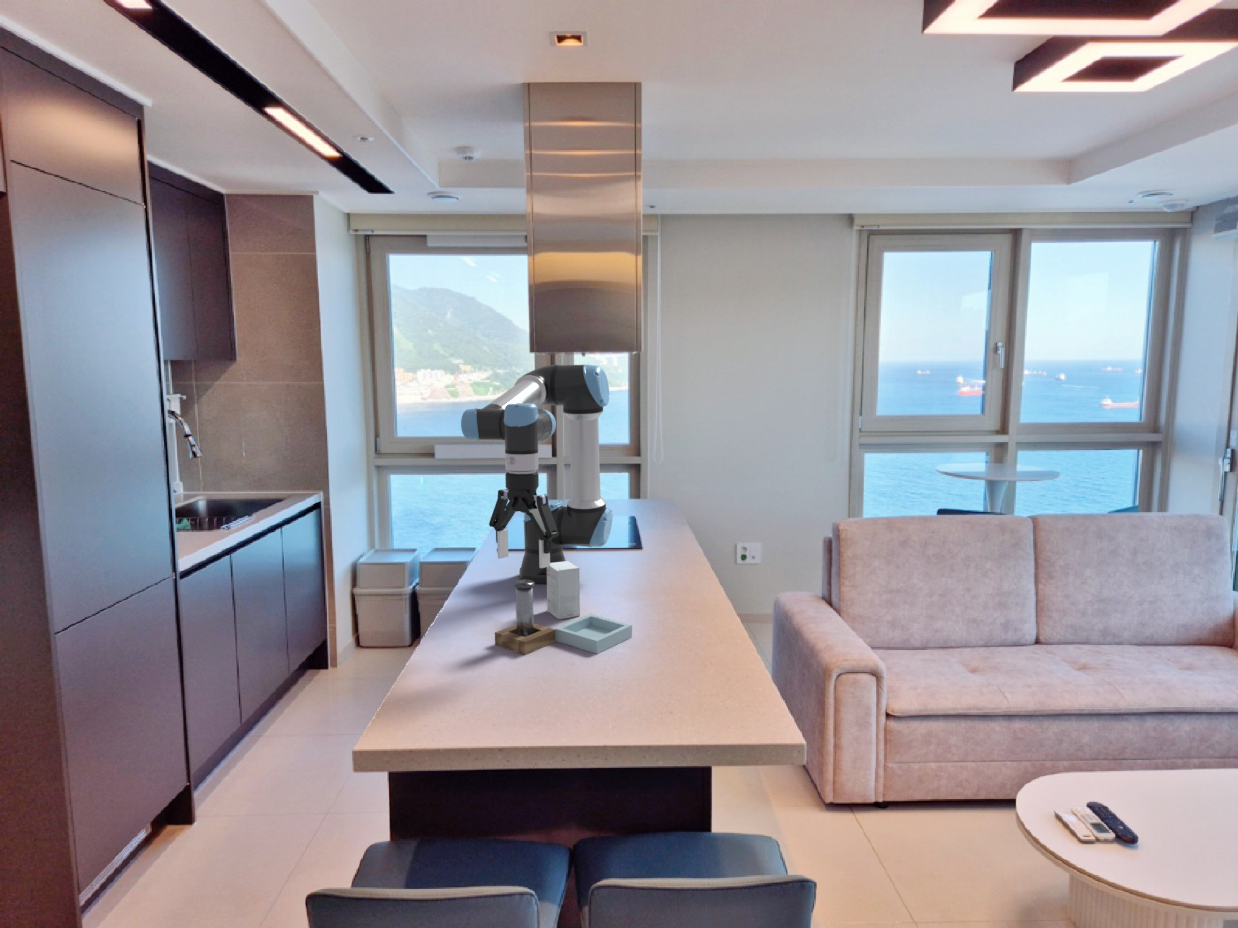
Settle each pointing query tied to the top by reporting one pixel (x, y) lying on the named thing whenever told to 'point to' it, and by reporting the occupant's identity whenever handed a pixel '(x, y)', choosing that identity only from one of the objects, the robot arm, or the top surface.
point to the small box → (563, 590)
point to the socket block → (525, 639)
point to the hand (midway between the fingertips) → (523, 562)
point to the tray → (593, 633)
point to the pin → (524, 607)
